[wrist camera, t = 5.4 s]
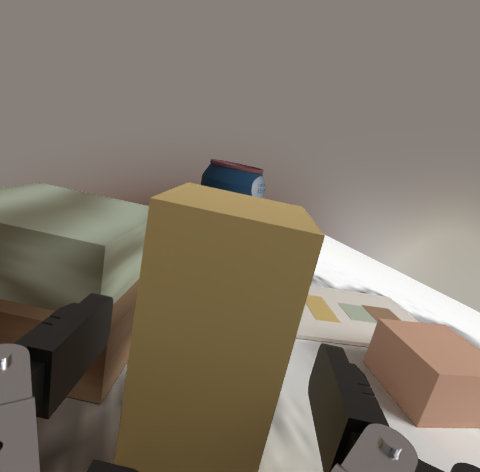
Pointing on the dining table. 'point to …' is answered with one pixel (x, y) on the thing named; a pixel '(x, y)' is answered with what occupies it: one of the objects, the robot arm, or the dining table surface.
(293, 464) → the dining table surface
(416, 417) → the brick
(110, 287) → the tower base
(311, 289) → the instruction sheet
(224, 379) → the tall brick
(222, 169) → the soda can
